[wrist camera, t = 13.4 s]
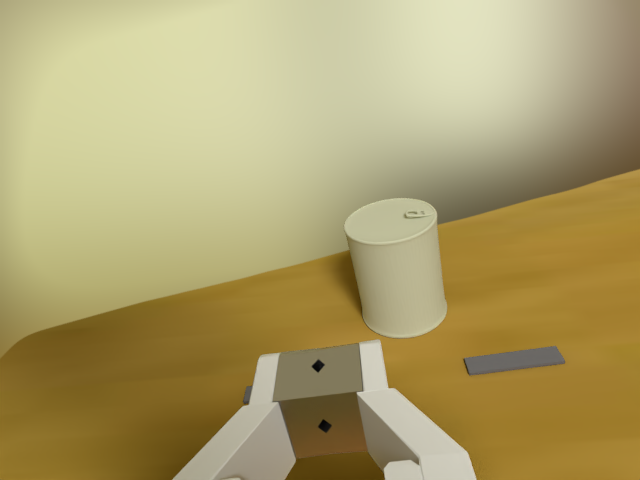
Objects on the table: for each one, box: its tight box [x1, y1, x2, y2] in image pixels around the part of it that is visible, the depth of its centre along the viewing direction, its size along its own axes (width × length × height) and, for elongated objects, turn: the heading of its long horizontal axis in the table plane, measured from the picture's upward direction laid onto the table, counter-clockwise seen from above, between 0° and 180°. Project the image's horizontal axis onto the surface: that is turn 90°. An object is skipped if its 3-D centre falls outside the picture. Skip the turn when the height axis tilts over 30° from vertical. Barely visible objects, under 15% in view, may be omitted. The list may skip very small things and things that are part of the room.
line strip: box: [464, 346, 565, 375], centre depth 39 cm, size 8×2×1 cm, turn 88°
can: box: [344, 198, 447, 338], centre depth 45 cm, size 9×9×12 cm
